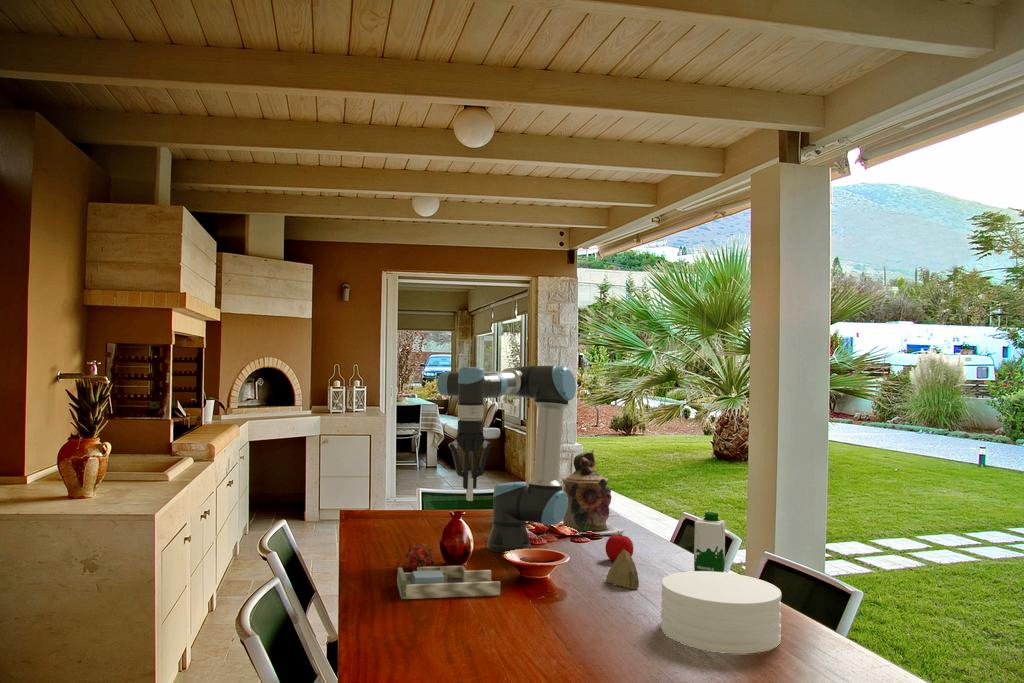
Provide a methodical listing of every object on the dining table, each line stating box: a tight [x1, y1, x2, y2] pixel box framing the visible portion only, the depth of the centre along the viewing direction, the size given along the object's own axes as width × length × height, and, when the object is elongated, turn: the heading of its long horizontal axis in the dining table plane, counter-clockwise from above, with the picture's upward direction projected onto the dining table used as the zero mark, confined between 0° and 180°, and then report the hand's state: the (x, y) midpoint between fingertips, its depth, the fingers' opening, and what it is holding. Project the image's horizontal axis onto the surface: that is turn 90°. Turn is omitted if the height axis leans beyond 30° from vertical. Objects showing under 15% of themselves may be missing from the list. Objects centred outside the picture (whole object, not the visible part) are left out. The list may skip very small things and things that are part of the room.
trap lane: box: [396, 565, 501, 600], centre depth 216 cm, size 27×19×5 cm
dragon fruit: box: [404, 542, 435, 572], centre depth 235 cm, size 8×8×12 cm
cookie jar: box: [560, 449, 626, 536], centre depth 302 cm, size 25×25×32 cm
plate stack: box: [660, 570, 782, 653], centre depth 184 cm, size 28×28×12 cm
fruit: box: [605, 531, 634, 562], centre depth 253 cm, size 9×9×10 cm
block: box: [412, 570, 444, 584], centre depth 212 cm, size 8×7×5 cm
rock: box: [604, 549, 640, 590], centre depth 223 cm, size 11×9×10 cm
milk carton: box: [693, 511, 726, 573], centre depth 232 cm, size 9×9×20 cm
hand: (469, 499), depth 222 cm, fingers closed
